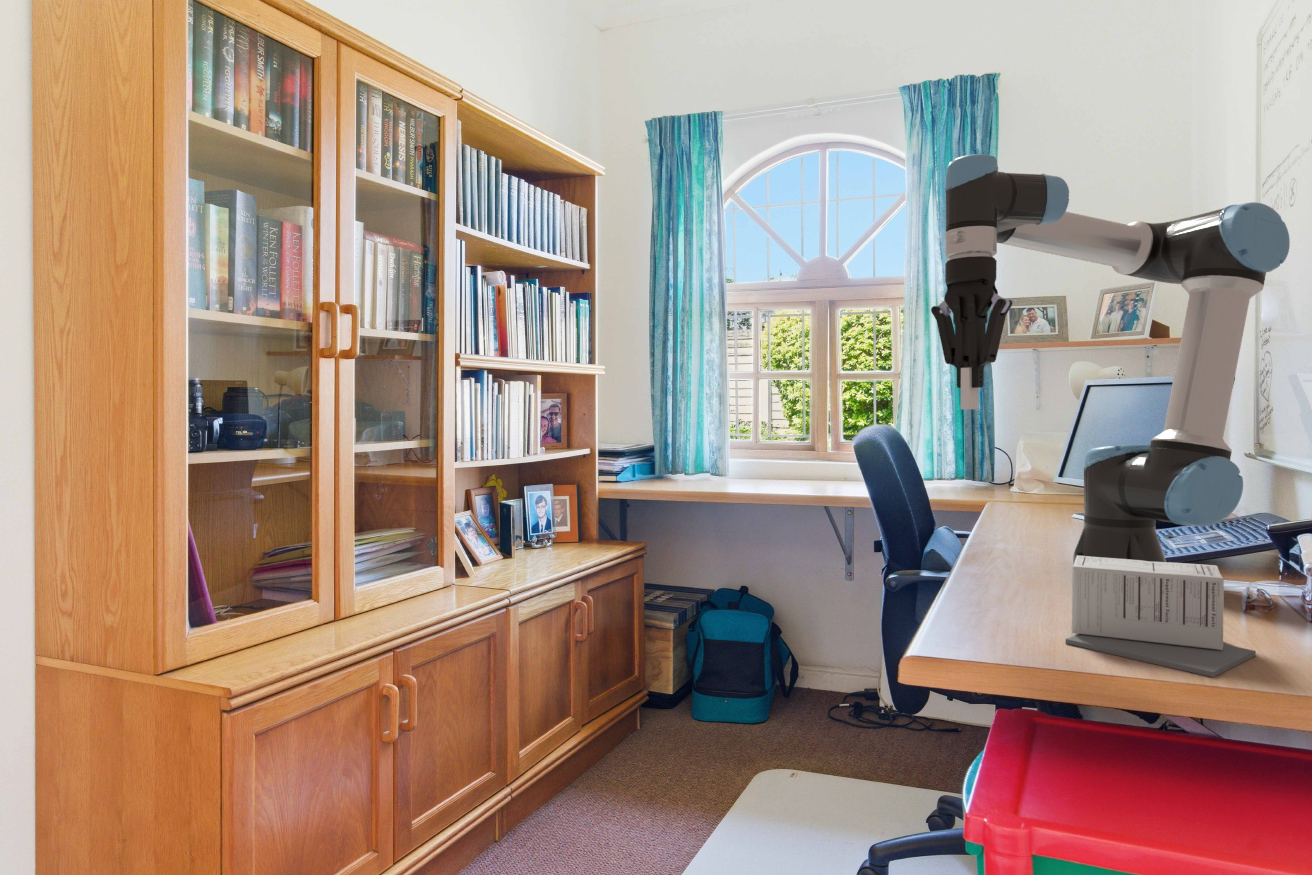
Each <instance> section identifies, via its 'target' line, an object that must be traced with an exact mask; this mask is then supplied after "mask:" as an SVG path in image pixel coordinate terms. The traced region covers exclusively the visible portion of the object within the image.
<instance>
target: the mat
mask: <svg viewBox="0 0 1312 875" xmlns="http://www.w3.org/2000/svg"><path fill="white" fill-rule="evenodd" d="M1065 644H1067V645H1070V646H1075V647H1079V648H1083V649H1088V650H1092V651H1097V652H1102V653H1105V654H1110V655H1115V656H1119V657H1122V658H1128V659H1132V660H1137V661H1140V662H1145V663H1148V664H1149V663H1150V664H1154V665H1158V666H1163V667H1165V668H1172V669H1176V670H1180V671H1185V672H1189V673H1193V674H1198V675H1201V676H1205V677H1210V678H1215V677H1217V676H1219V675H1221V674H1223V673H1225V672H1226V671H1228V670H1230V669H1232V668H1235V667H1237V666H1239V665H1240V664H1242V663H1244V662H1246V661H1248V660H1250V659H1252V658H1254V657H1256V650H1254V649H1248V648H1243V647H1237V646H1235V645H1234V646H1233V645H1228V644H1224V643H1223V649H1222V650H1216V649H1207V648H1198V647H1190V646H1181V645H1172V644H1164V643H1155V642H1146V641H1137V640H1128V639H1119V638H1110V637H1101V636H1093V635H1084V634H1075V635H1073V636H1070V637H1067V638H1065Z"/></svg>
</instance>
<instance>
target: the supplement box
mask: <svg viewBox="0 0 1312 875" xmlns="http://www.w3.org/2000/svg"><path fill="white" fill-rule="evenodd" d="M1071 578H1072V579H1071V581H1072V582H1071V591H1072V592H1071V593H1072V594H1071V633H1072V634H1075V635H1078V634H1084V635H1093V636H1101V637H1110V638H1119V639H1128V640H1137V641H1146V642H1155V643H1164V644H1172V645H1181V646H1190V647H1198V648H1207V649H1216V650H1222V649H1223V644H1224V602H1225V601H1224V596H1225V595H1224V594H1225V592H1224V591H1225V590H1224V589H1225V587H1224V583H1225V582H1224V577H1223V576H1222V574H1221V572H1220V569H1219V567H1218V565H1214V564H1213V565H1212V564H1200V563H1198V564H1197V563H1186V562H1184V563H1183V562H1170V561H1169V562H1167V561H1166V562H1150V561H1142V560H1130V559H1117V558H1103V557H1090V556H1077V557H1076V560H1075V562H1074V565H1073V564H1072V577H1071Z"/></svg>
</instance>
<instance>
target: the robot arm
mask: <svg viewBox="0 0 1312 875" xmlns="http://www.w3.org/2000/svg"><path fill="white" fill-rule="evenodd" d="M945 175H946V176H945V187H944V192H945V257H946V258H947V259H948V260H947V261H946V262H945V270H944V271H945V275H944V276H945V279H944V282H945V284H946V285H945V286H946V292H945V294H944V297H943V298H944V300H943V301H942V302H941V303H940V304H939V305H934V306H932V307H931V308H930V312H931V313H932V316H933V317H934V318H935V321H936V324H937V330H938V334H939V339H940V344H941V349H942V352H943V357H944V362H945V364H947V365H950V366H953V367H955V368H956V369H955V370H956V387H957V388H958V389H960V410H979V409H980V389H981V388H983V387H984V385H985V384H984V382H985V381H984V380H985V379H984V374H985V372H984V369H985V366H987V365H989V364H991V363H992V364H993V363H995V362H996V360H997V357H998V353H999V348H1000V343H1001V338H1002V335H1003V331H1004V325H1005V321H1006V317H1007V315H1008V313H1009V311H1010V310H1011V308H1012V306H1013V301H1012V299H1008V298H1006V299H1005V298H1004V297H1002V296H1000V294H998V293H999V292H998V289H997V287H996V280H997V264H998V263H997V259H996V258H995V257H994V256H995V255H997V254H998V252H997V251H998V248H997V247H998V246H997V244H1002V245H1007V246H1011V247H1016V248H1021V249H1027V250H1030V251H1036V252H1039V253H1040V252H1041V253H1046V254H1051V255H1056V256H1060V257H1065V258H1069V259H1075V260H1081V261H1084V262H1091V263H1093V264H1100V265H1104V266H1110V267H1112V269H1113V271H1115V272H1116V273H1117V274H1120V275H1123V276H1129V277H1133V278H1138V279H1142V280H1147V281H1154V282H1159V283H1165V284H1176V285H1181V287H1182V288H1183V289H1184V290H1185V291H1186V293H1188V302H1187V307H1186V312H1185V317H1184V323H1183V327H1182V332H1181V337H1180V341H1179V342H1180V344H1179V348H1178V353H1177V359H1176V363H1175V368H1174V374H1173V378H1172V379H1173V380H1172V385H1171V390H1170V395H1169V400H1168V406H1167V410H1166V416H1165V420H1164V426H1163V431H1162V432H1161V433H1159V434H1157V435H1156V436H1154V437H1152V438H1151V440H1150V443H1149V444H1148V443H1145V444H1144V443H1140V444H1137V443H1136V444H1122V445H1107V446H1098V447H1093V448H1090V449H1088V451H1087V452H1086V453H1085V455H1084V456H1085V459H1084V467H1083V528H1082V531H1081V533H1080V537H1079V539H1078V541H1077V544H1076V547H1075V549H1074V552H1073V556H1072V557H1073V558H1072V566H1073V565H1074V562H1075V560H1076V557H1077V556H1090V557H1103V558H1117V559H1130V560H1142V561H1150V562H1167V560H1166V557H1165V554H1164V550H1163V549H1162V545H1161V541H1160V539H1159V537H1158V534H1157V529H1156V527H1157V526H1156V523H1157V522H1156V521H1161V522H1167V523H1173V524H1176V525H1179V526H1180V525H1181V526H1184V527H1190V526H1195V527H1209V526H1214V525H1216V524H1219V523H1221V522H1222V521H1223V520H1224V519H1226V518H1228V517H1229V516H1230V515H1232V513H1233V512H1234V511H1235V510H1236V508H1237V507H1238V505H1239V503H1240V501H1241V498H1242V495H1243V491H1244V479H1243V476H1242V475H1240V473H1241V471H1240V468H1239V467H1238V465H1237V464H1236V463H1235V462H1233V461H1232V460H1231V457H1232V452H1233V451H1232V449H1231V447H1230V446H1229V445H1228V444H1227V443H1226V442H1225V440H1224V435H1225V430H1226V425H1227V420H1228V414H1229V411H1230V410H1229V409H1230V405H1231V399H1232V394H1233V389H1234V384H1235V378H1236V372H1237V367H1238V361H1239V357H1240V351H1241V346H1242V341H1243V336H1244V331H1245V325H1246V320H1247V316H1248V309H1249V305H1250V299H1252V297H1254V296H1255V295H1257V294H1259V293H1260V292H1262V291H1263V289H1264V286H1265V280H1266V275H1267V273H1270V272H1272V271H1274V270H1276V269H1277V268H1279V267H1280V266H1281V264H1283V263H1285V261H1286V259H1287V257H1288V254H1289V252H1290V246H1291V245H1290V244H1291V238H1290V234H1289V230H1288V227H1287V225H1286V222H1284V221H1283V219H1282V217H1281V214H1280V213H1279V212H1277V211H1276V210H1275V209H1274V208H1272V207H1271V206H1269V205H1267V204H1265V203H1261V202H1256V201H1255V202H1253V201H1252V202H1246V203H1241V204H1230V205H1228V206H1226V207H1223V208H1220V209H1216V210H1212V211H1209V212H1204V213H1202V214H1201V213H1200V214H1197V215H1193V216H1189V217H1184V218H1180V219H1175V220H1172V221H1166V222H1155V223H1154V222H1153V223H1152V222H1151V223H1150V222H1146V221H1145V222H1144V221H1140V220H1139V221H1138V220H1137V221H1132V222H1130V223H1120V222H1117V221H1112V220H1107V219H1103V218H1098V217H1093V216H1088V215H1085V214H1079V213H1075V212H1070V211H1067V209H1068V206H1069V201H1070V198H1069V197H1070V190H1069V185H1068V184H1067V181H1066V180H1064V178H1062V177H1060V176H1058V175H1057V176H1055V175H1051V174H1050V175H1048V174H1046V173H1045V174H1044V173H1040V174H1037V173H1036V174H1035V173H1032V174H1031V173H1015V172H1014V173H1013V172H1011V173H1010V172H1003V171H999V167H998V160H997V158H996V157H995V156H994V155H990V154H986V153H977V154H967V155H963V156H960V157H959V156H958V157H957V158H954V159H953V160H951V161H950V162H949V164H948V166H947V167H946V174H945ZM990 309H991V311H990ZM989 311H990V313H989V317H988V312H989ZM951 314H953V317H952V316H951ZM952 318H953V319H952ZM986 324H987V326H986ZM954 328H955V329H954Z"/></svg>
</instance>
